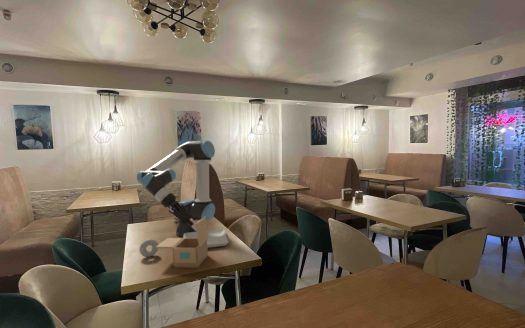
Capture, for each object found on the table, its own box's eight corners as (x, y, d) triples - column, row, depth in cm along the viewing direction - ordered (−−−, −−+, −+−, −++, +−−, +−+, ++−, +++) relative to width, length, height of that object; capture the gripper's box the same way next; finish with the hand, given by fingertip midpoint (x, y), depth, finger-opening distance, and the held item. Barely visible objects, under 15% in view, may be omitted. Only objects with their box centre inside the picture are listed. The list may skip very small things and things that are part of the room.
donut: (140, 260, 146) (139, 242, 145) (139, 258, 149) (138, 240, 148) (159, 255, 151) (158, 238, 151) (158, 253, 154) (157, 236, 153)
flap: (204, 216, 147) (205, 216, 146) (206, 238, 147) (208, 237, 147) (195, 223, 134) (197, 223, 134) (198, 247, 134) (200, 246, 134)
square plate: (184, 238, 181) (183, 232, 180) (224, 233, 187) (224, 228, 187) (181, 253, 154) (181, 246, 154) (229, 247, 160) (229, 241, 160)
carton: (169, 255, 151) (168, 237, 151) (207, 255, 149) (206, 237, 148) (155, 267, 136) (153, 248, 135) (197, 268, 133) (196, 248, 132)
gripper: (166, 200, 148) (197, 229, 147) (155, 205, 135) (188, 238, 134) (175, 190, 147) (206, 220, 146) (164, 194, 134) (198, 227, 134)
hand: (197, 228), depth 140 cm, fingers closed
